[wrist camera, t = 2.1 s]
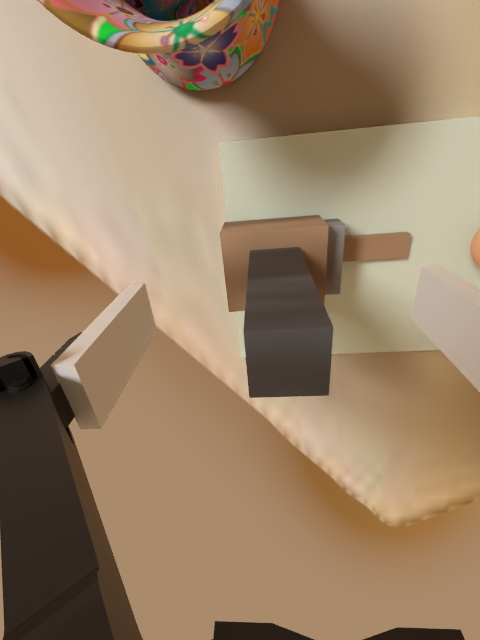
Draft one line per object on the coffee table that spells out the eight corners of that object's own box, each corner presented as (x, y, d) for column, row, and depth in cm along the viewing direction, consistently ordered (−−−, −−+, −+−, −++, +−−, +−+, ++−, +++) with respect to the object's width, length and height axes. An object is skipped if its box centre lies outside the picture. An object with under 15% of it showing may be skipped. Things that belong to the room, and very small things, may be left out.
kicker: (224, 222, 20) (188, 303, 9) (338, 213, 19) (436, 289, 9) (232, 292, 22) (210, 420, 12) (333, 286, 22) (405, 415, 11)
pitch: (219, 142, 19) (217, 142, 18) (601, 104, 17) (631, 100, 16) (241, 351, 27) (240, 362, 26) (506, 340, 25) (521, 351, 24)
